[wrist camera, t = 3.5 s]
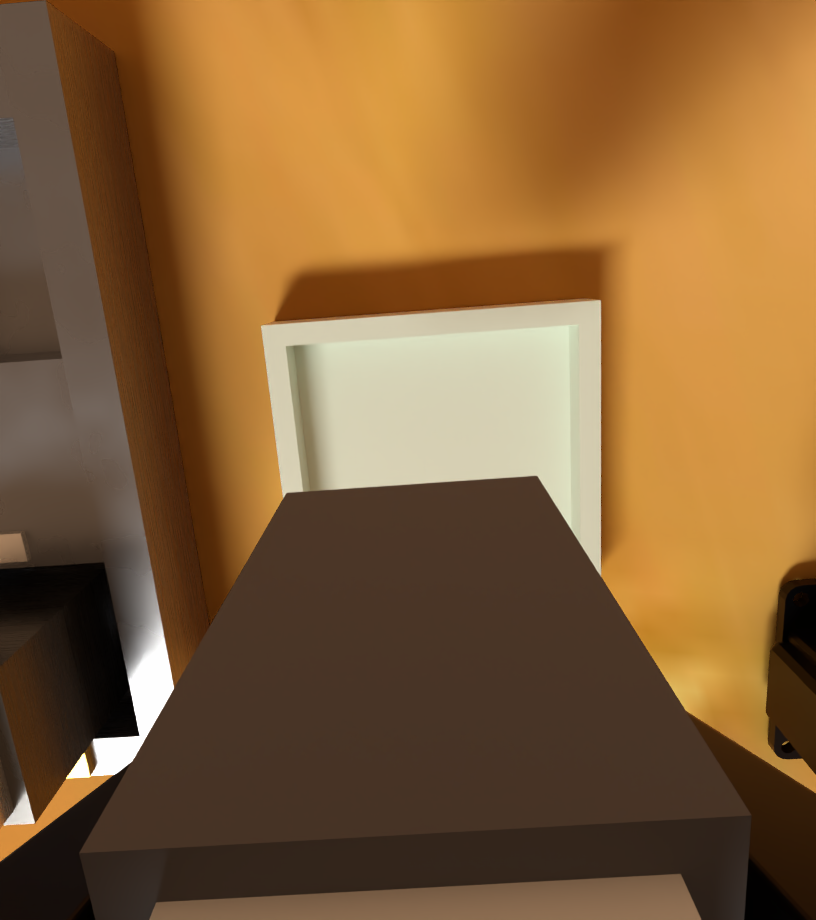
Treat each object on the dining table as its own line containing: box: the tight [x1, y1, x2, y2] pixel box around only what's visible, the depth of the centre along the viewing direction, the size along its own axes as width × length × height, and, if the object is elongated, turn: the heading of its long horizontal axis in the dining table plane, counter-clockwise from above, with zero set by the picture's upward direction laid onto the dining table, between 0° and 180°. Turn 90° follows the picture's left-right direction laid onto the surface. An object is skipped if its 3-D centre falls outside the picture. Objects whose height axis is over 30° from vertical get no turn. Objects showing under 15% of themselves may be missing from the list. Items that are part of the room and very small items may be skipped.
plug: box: [79, 476, 752, 920], centre depth 7 cm, size 4×4×8 cm
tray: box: [261, 298, 601, 576], centre depth 20 cm, size 9×9×2 cm
